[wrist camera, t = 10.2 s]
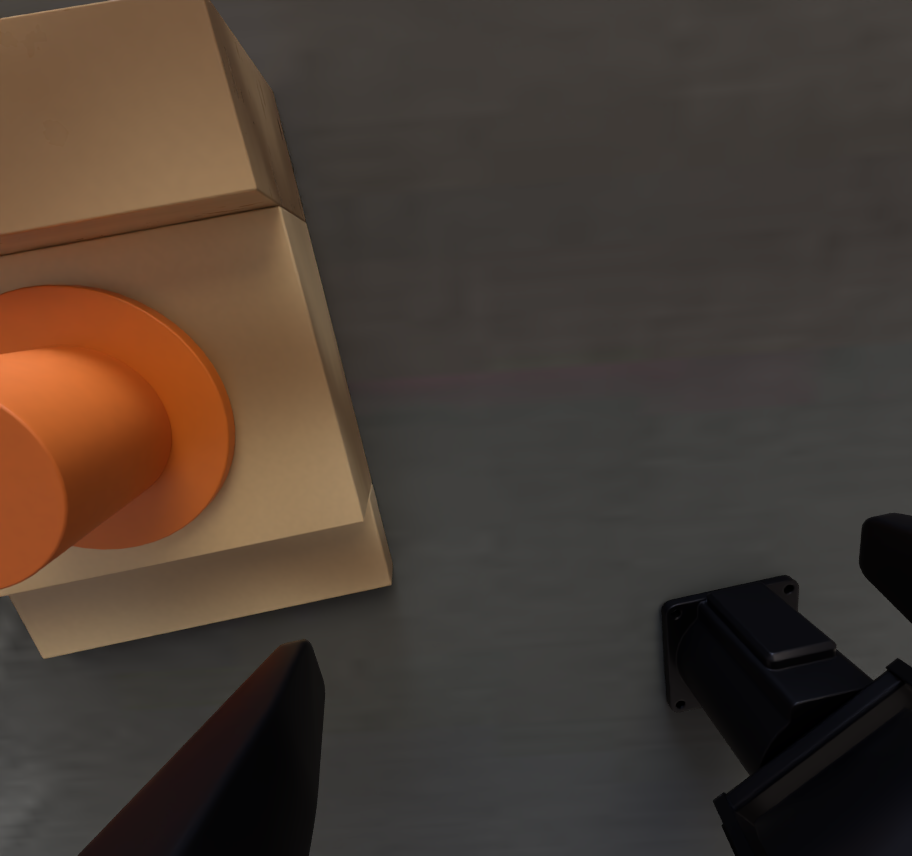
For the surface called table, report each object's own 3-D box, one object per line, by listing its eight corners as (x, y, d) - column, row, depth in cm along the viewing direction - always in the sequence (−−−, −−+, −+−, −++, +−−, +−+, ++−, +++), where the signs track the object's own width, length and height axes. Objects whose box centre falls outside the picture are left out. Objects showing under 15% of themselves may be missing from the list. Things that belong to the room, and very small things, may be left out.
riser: (393, 565, 20) (387, 660, 15) (68, 633, 20) (-54, 756, 15) (273, 90, 15) (200, -16, 10) (-173, 166, 15) (-498, 97, 9)
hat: (268, 512, 16) (203, 615, 11) (23, 563, 15) (-159, 691, 10) (184, 260, 13) (52, 243, 8) (-108, 313, 13) (-423, 328, 8)
